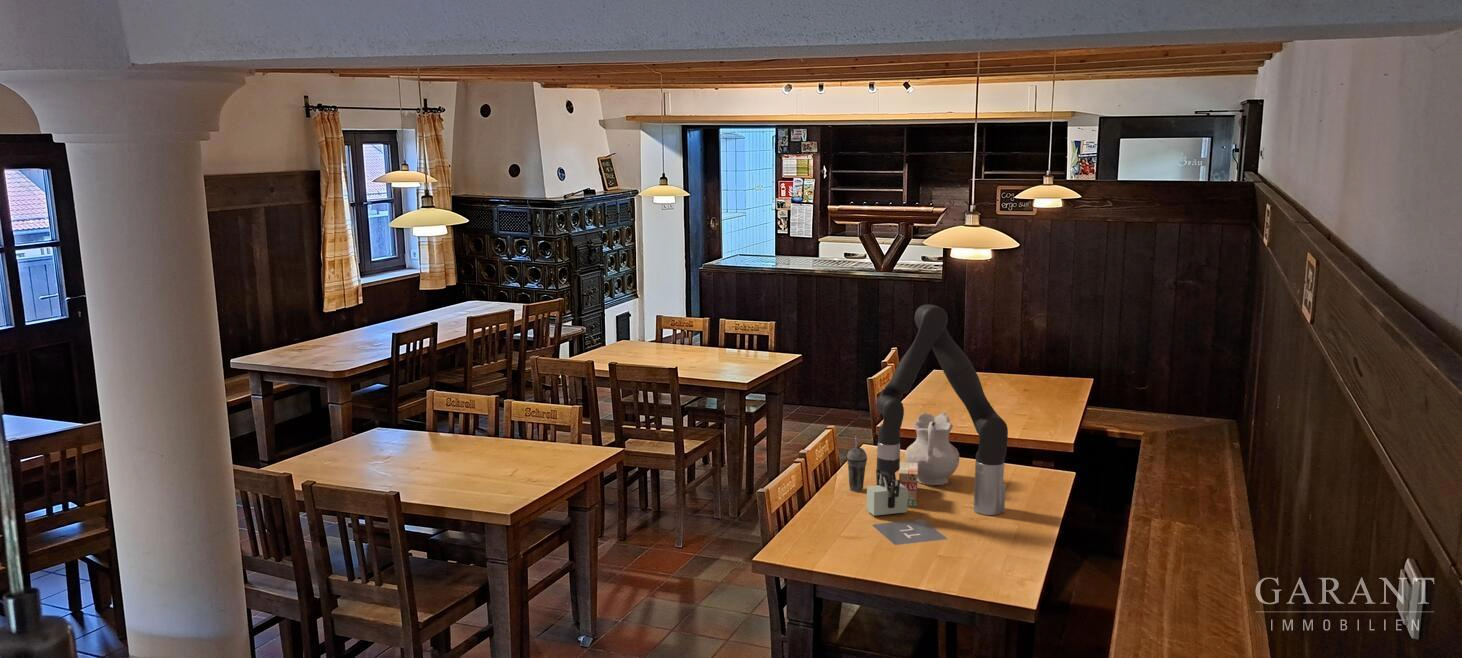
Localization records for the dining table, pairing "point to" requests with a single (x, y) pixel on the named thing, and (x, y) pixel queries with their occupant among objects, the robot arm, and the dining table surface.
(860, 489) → the beverage cup
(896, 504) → the sage block
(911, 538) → the gray tile
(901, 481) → the stack of blocks
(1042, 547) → the dining table surface
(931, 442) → the ceramic pitcher
